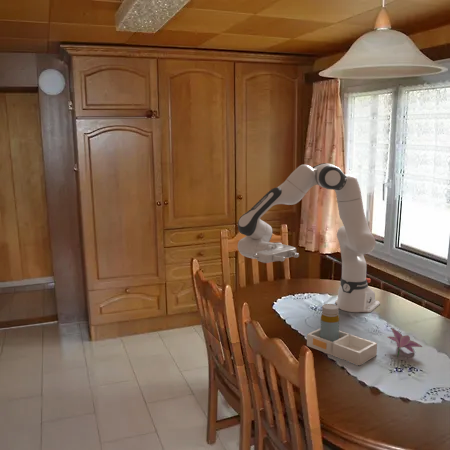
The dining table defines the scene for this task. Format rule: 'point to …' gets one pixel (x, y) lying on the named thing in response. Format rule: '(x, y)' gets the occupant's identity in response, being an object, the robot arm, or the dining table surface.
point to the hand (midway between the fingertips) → (290, 257)
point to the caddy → (344, 347)
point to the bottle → (329, 322)
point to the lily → (403, 341)
